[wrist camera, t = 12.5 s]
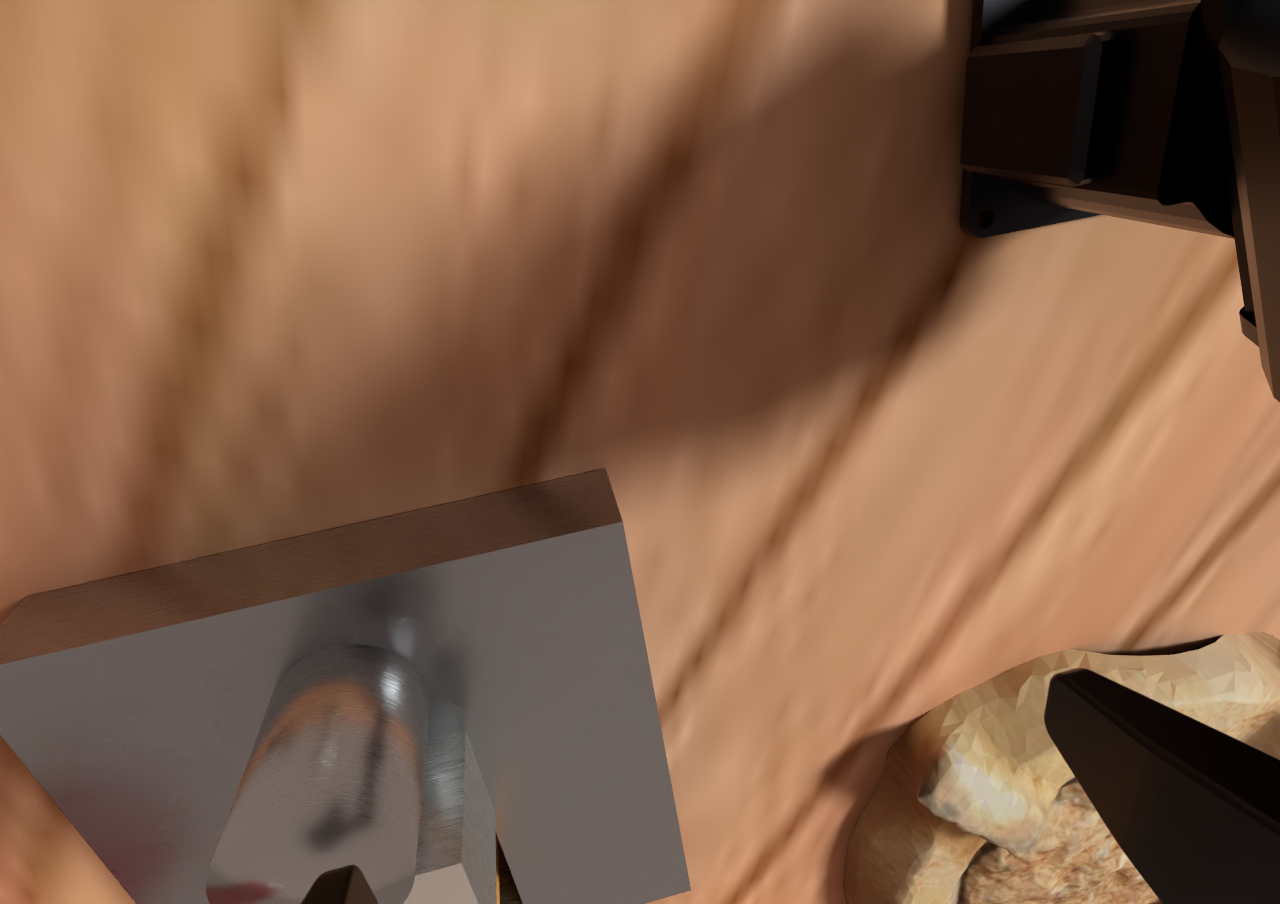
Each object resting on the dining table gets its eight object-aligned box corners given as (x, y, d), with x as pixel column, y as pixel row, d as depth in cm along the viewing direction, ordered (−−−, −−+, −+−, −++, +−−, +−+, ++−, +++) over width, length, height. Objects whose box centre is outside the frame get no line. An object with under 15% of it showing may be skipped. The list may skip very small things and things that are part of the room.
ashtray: (975, 556, 26) (1076, 650, 21) (1381, 635, 33) (1519, 717, 29) (742, 960, 34) (779, 1086, 30) (1103, 953, 42) (1176, 1054, 37)
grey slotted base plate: (605, 468, 21) (665, 655, 14) (671, 816, 28) (733, 1053, 21) (25, 596, 19) (-242, 884, 12) (258, 931, 27) (175, 1230, 20)
